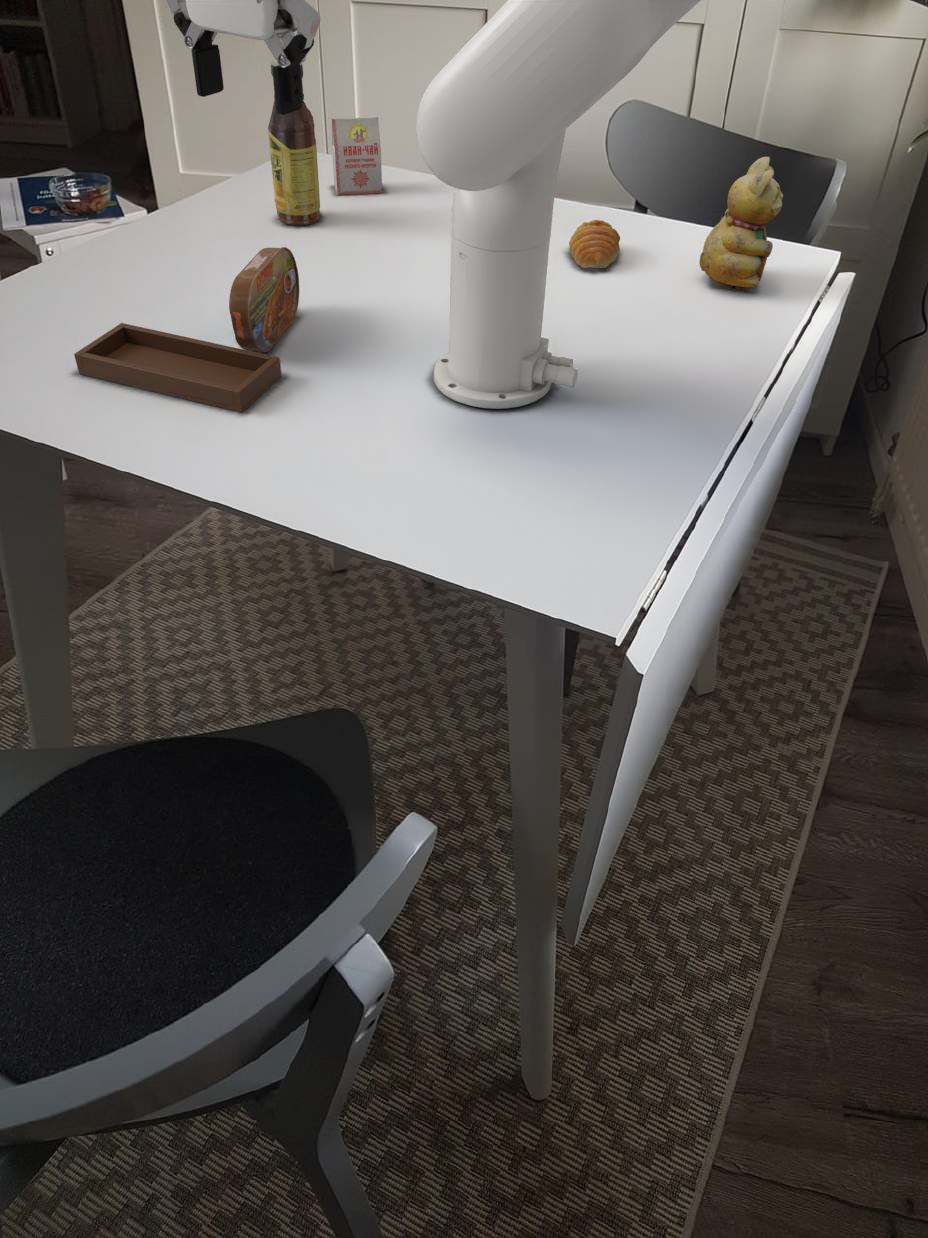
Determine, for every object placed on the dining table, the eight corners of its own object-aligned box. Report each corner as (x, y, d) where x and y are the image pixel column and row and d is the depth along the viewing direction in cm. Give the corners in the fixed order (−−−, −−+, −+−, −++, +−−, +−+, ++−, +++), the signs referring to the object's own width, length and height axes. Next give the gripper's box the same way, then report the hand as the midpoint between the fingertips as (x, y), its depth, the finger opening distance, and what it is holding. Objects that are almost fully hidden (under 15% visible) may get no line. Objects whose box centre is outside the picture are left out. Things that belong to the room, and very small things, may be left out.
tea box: (334, 186, 146) (330, 115, 139) (378, 184, 147) (376, 113, 140) (337, 194, 143) (333, 122, 137) (382, 192, 144) (380, 120, 138)
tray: (282, 377, 101) (279, 357, 100) (242, 412, 95) (239, 392, 94) (125, 342, 106) (121, 322, 104) (79, 374, 100) (73, 353, 99)
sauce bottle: (277, 211, 137) (262, 54, 124) (321, 211, 138) (310, 54, 125) (275, 228, 132) (259, 66, 119) (321, 228, 133) (310, 67, 120)
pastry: (619, 274, 124) (623, 245, 122) (567, 271, 125) (570, 242, 122) (617, 247, 131) (621, 218, 129) (568, 244, 131) (571, 216, 129)
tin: (259, 365, 103) (249, 289, 97) (231, 362, 103) (220, 286, 98) (304, 307, 114) (297, 236, 108) (279, 304, 114) (271, 233, 109)
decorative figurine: (766, 300, 119) (798, 174, 109) (700, 296, 120) (725, 170, 110) (753, 270, 127) (782, 148, 117) (691, 266, 127) (714, 145, 117)
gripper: (336, -114, 80) (345, 109, 92) (180, -132, 86) (207, 79, 98) (280, -108, 75) (297, 127, 87) (119, -128, 81) (154, 94, 93)
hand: (249, 102), depth 92 cm, fingers open, 9 cm apart
